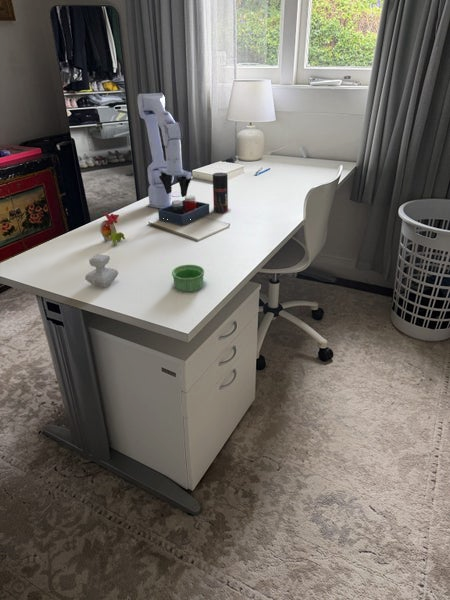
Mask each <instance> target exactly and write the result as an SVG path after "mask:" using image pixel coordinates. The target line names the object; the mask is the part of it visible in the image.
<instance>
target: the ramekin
mask: <svg viewBox="0 0 450 600" xmlns="http://www.w3.org/2000/svg"><path fill="white" fill-rule="evenodd" d="M171 276H172V279H173V284H174V287H175V289H176V290H179V291H181V292H195V291H198V290H199V289H201V288H202V287H203V285H204V276H205V269H204V268H203V267H202V266H199V265H196V264H182V265H178V266H176V267H174V269H172V271H171Z"/></svg>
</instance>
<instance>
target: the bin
mask: <svg viewBox="0 0 450 600" xmlns="http://www.w3.org/2000/svg"><path fill="white" fill-rule="evenodd" d="M181 201H182V202H183V209H184V214H183V215H180V214H175V213H172V206H171V205H170V206H168V207H165V208H162V209H161V208H159V209H158V210H157V211H158V212H157V214H158V220H159V221H162V222H166V223H171V224H175V225H178V226H185V225H187V224H189V223H192V222H194V221H196V220H198V219H201V218H203V217H205V216H207V215H209V214H210V203H206V202H201V201H197V200H196V209H195V210H192V211H190V212H187V213H185V199H183V200H181ZM163 218H164V219H163ZM167 219H168V220H167ZM190 219H191V220H190Z"/></svg>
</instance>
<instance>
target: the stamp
mask: <svg viewBox="0 0 450 600" xmlns="http://www.w3.org/2000/svg"><path fill="white" fill-rule="evenodd" d="M110 260H111V256H110V255H106V254H99V253H96V254H94V255H93V256H92V257H91V258H88V263H89V265H90V266H91V267H93V268H94V267H95V268H94V269H93V270H92V271H90V272H88V273H86V275H85V277H84V280H85V281H86V282H88V283H89V284H91V286H96V287H100V288H106V287H108V286H109V285H110V284H112V283H113V282H114V281H115V280H116V278H117V277H118V275H119V271H118V269H114V268H109V267H106V266H107V265H108V264H109V263H110Z"/></svg>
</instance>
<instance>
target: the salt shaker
mask: <svg viewBox="0 0 450 600" xmlns="http://www.w3.org/2000/svg"><path fill="white" fill-rule="evenodd" d="M184 200H185V213H187V212H190V211H192V210H195V209H196V201H197V199H196V196H195V195H191V194H190V195H186V196H185V197H184Z"/></svg>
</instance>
